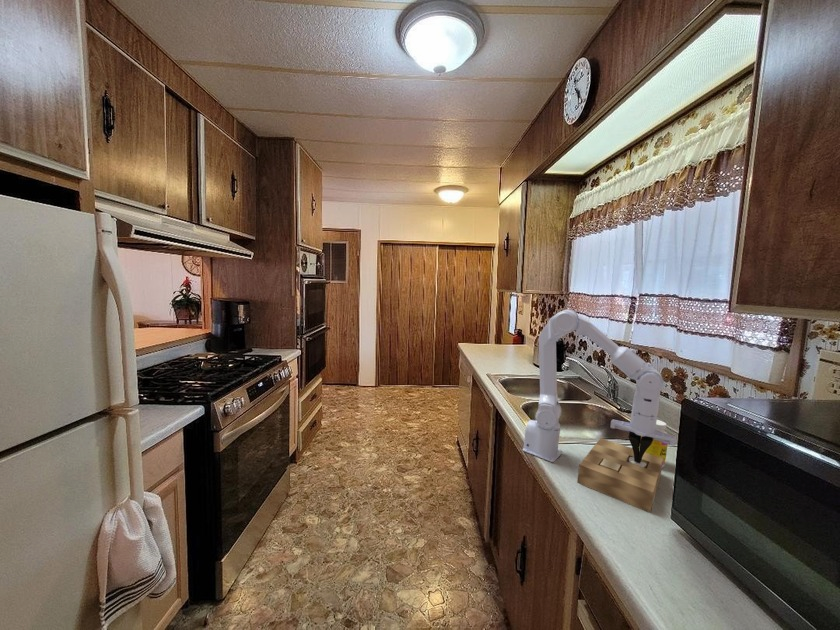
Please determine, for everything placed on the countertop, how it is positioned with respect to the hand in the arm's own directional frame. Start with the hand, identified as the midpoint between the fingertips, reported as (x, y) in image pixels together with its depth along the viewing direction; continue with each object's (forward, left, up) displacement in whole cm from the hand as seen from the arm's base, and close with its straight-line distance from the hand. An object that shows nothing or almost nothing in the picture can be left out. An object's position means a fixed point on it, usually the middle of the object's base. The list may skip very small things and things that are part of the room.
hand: (637, 461), depth 92 cm
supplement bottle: (+2, +14, -5) cm, 15 cm away
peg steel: (0, 0, -5) cm, 5 cm away
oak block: (-3, -3, -5) cm, 7 cm away
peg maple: (-5, -8, -5) cm, 11 cm away
